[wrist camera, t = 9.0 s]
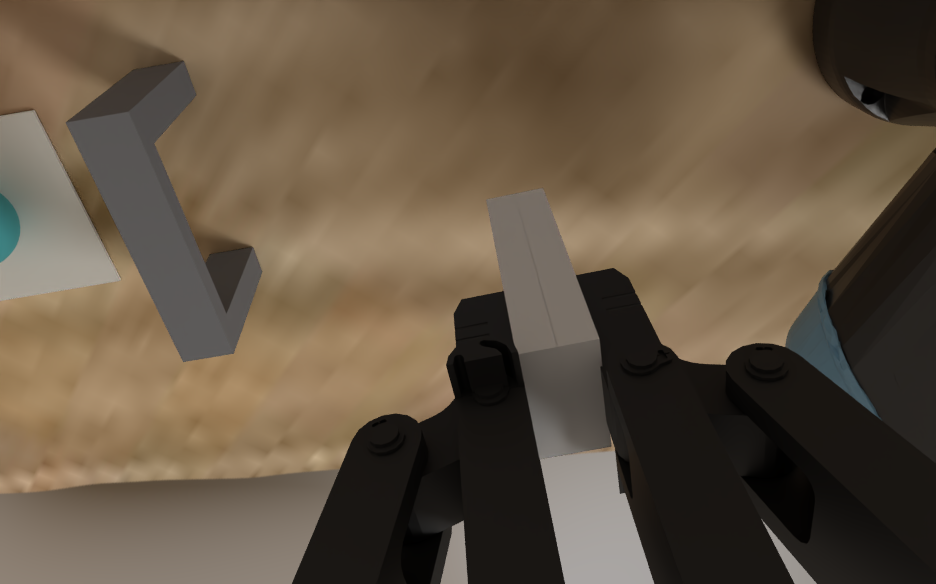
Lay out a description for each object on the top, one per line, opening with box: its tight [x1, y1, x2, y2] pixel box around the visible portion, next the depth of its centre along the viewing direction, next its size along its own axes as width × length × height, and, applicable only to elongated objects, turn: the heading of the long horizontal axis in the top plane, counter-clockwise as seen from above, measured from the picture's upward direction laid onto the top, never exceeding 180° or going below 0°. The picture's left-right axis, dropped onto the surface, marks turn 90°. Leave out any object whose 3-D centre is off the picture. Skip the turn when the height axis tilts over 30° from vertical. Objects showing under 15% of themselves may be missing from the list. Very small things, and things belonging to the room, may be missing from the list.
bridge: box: [66, 61, 262, 362], centre depth 39 cm, size 3×14×9 cm, turn 8°
